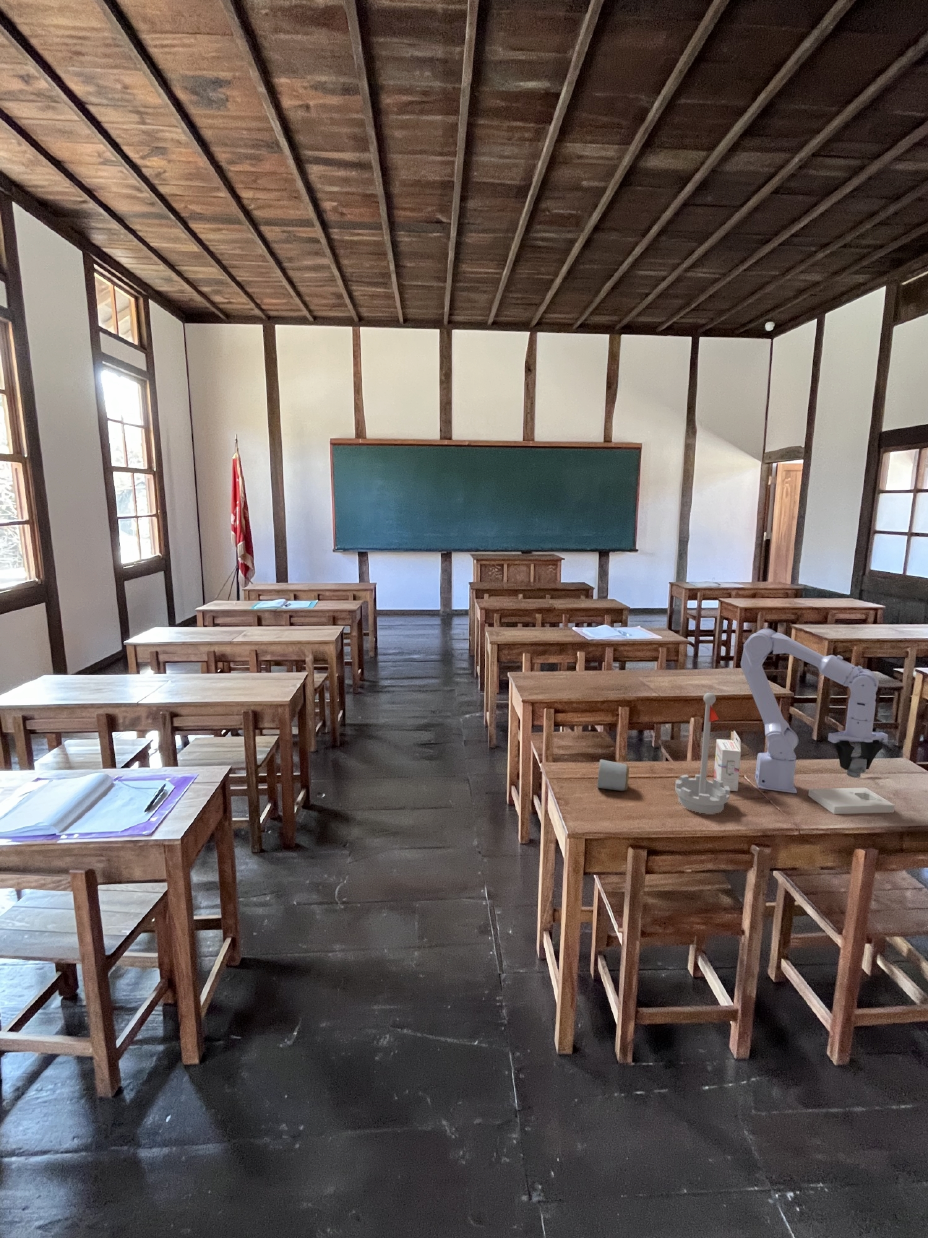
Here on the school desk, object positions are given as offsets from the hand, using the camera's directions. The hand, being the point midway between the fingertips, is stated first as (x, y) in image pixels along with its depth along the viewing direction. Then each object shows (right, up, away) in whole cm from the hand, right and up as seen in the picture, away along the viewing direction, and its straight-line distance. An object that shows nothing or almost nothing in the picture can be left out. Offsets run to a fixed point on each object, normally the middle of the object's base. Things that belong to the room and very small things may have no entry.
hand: (854, 768), depth 153 cm
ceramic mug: (-60, -8, +11) cm, 62 cm away
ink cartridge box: (-28, -8, +13) cm, 32 cm away
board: (0, -10, +2) cm, 10 cm away
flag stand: (-39, -10, +1) cm, 41 cm away
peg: (0, -2, 0) cm, 2 cm away
